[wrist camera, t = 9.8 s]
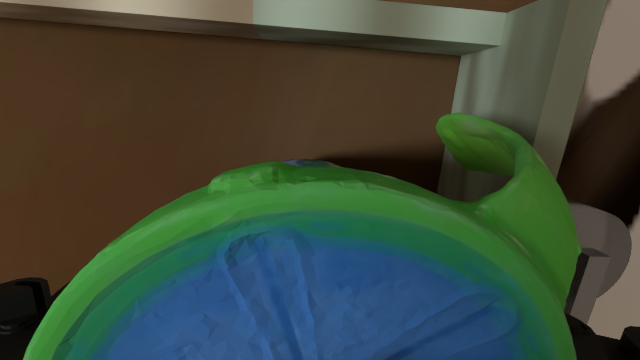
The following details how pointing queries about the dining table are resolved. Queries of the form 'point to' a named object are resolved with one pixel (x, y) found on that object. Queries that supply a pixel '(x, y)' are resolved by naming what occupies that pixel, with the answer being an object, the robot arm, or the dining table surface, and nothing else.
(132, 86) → the dining table surface
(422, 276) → the snack cup
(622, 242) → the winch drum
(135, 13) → the bay
